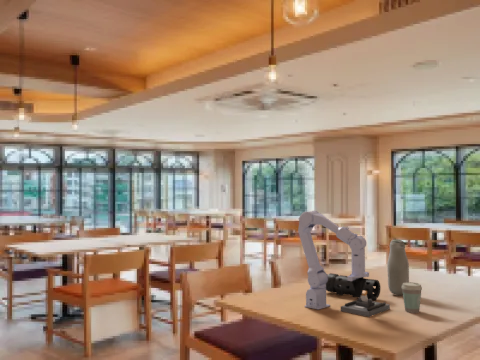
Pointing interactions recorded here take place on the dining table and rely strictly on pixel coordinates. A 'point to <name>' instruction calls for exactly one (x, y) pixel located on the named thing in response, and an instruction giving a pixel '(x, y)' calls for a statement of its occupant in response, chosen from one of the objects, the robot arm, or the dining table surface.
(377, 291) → the muzzle brake
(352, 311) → the breaker panel
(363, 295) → the breaker lever
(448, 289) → the dining table surface
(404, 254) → the grey bottle
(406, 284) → the coffee cup
